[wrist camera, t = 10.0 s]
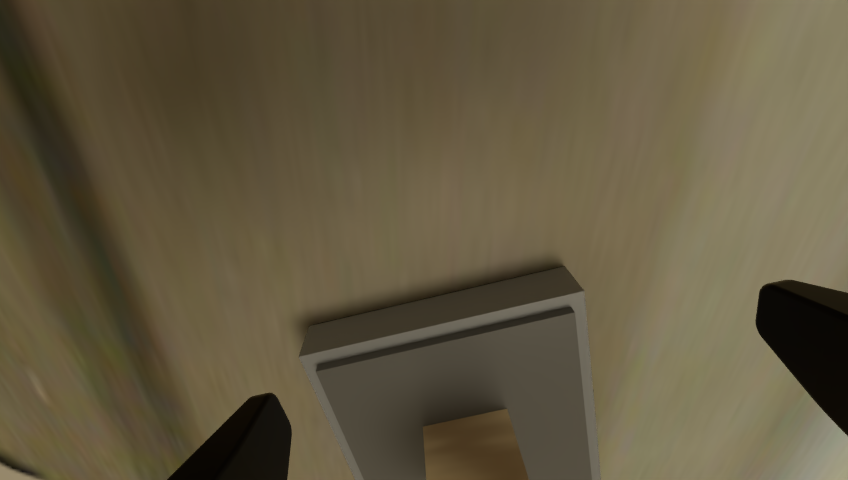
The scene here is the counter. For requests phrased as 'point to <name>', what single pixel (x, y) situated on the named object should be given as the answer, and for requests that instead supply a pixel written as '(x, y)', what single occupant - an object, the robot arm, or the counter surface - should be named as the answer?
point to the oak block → (473, 449)
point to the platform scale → (461, 376)
